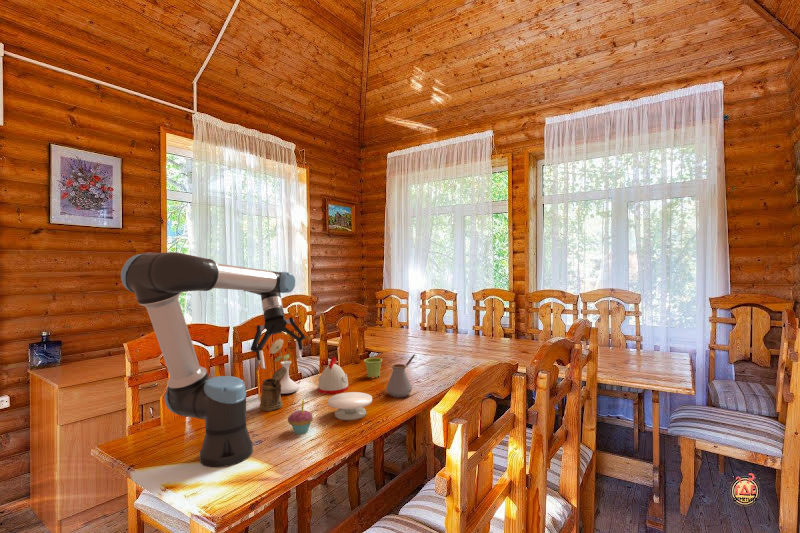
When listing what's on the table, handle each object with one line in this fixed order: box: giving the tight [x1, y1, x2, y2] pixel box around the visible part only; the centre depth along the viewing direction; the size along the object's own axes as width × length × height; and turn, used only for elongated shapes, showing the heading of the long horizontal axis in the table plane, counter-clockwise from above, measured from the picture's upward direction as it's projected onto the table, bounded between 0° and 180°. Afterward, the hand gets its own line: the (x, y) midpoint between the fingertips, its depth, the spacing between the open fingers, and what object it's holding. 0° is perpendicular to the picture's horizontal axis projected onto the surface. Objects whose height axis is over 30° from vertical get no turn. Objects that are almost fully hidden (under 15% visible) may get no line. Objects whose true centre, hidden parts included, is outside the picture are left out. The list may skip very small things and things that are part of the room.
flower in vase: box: [269, 338, 300, 395], centre depth 189 cm, size 13×11×25 cm
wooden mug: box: [258, 366, 287, 412], centre depth 168 cm, size 9×14×18 cm, turn 50°
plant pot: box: [363, 357, 383, 378], centre depth 213 cm, size 9×9×9 cm
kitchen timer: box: [317, 356, 349, 395], centre depth 193 cm, size 14×14×15 cm
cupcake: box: [287, 398, 314, 435], centre depth 145 cm, size 9×8×12 cm
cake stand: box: [327, 391, 373, 421], centre depth 160 cm, size 17×17×6 cm
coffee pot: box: [386, 354, 416, 398], centre depth 187 cm, size 21×12×15 cm, turn 149°
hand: (281, 363), depth 153 cm, fingers open, 13 cm apart
